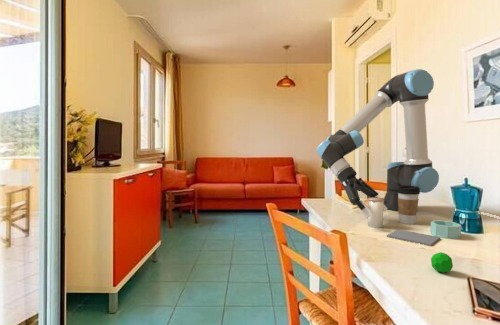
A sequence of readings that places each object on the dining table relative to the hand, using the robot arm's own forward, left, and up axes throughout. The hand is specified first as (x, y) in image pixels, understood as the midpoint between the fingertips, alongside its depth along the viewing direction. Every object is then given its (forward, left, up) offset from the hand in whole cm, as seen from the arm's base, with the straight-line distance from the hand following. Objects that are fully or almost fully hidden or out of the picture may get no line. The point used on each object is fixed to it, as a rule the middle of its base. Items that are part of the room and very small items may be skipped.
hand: (377, 213), depth 128 cm
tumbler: (0, -1, -5) cm, 5 cm away
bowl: (-6, +22, -5) cm, 24 cm away
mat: (+6, +15, -5) cm, 17 cm away
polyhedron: (+32, +30, -6) cm, 44 cm away
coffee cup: (-15, +6, -6) cm, 17 cm away
